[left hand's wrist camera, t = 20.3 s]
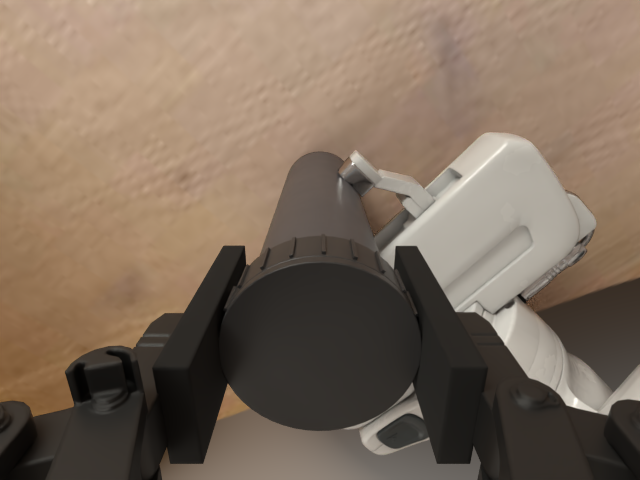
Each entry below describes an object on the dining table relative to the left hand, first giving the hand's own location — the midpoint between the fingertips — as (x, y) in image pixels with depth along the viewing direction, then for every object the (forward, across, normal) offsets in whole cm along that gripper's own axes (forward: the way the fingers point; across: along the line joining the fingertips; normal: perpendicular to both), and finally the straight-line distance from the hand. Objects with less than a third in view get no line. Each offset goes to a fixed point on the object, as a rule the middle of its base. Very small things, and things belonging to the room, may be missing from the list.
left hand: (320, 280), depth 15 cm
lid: (-4, 0, 0) cm, 4 cm away
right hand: (+8, -1, +1) cm, 8 cm away
